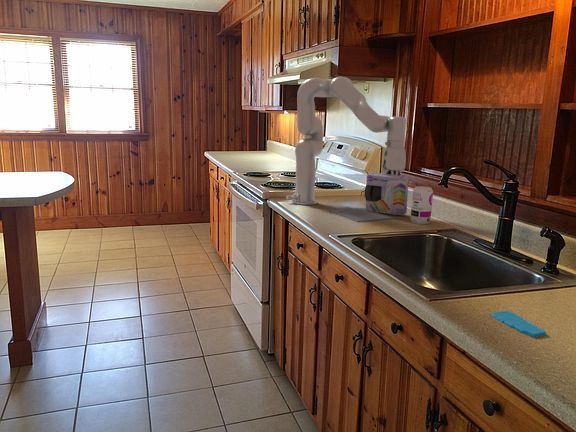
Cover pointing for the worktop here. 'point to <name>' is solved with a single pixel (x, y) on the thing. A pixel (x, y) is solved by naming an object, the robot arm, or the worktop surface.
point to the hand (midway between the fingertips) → (391, 184)
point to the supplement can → (421, 205)
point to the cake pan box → (386, 193)
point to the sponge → (518, 323)
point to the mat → (361, 214)
